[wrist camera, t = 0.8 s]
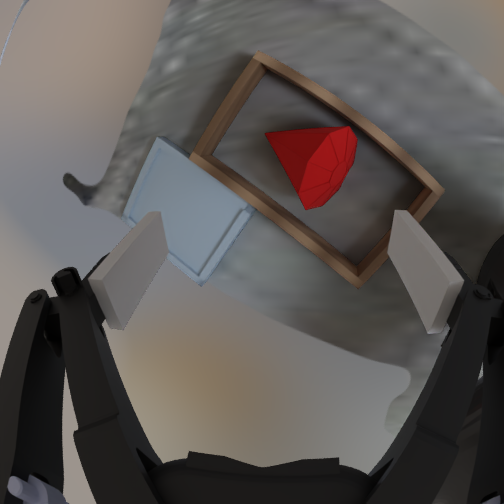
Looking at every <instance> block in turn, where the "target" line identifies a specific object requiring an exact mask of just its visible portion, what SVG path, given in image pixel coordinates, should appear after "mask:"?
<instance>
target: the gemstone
mask: <svg viewBox="0 0 504 504" xmlns="http://www.w3.org/2000/svg"><path fill="white" fill-rule="evenodd" d="M349 128H350V127H349V126H342V127H324V128H310V129H298V130H288V131H278V132H270V133H265V135H266V137H267V139H268V140H269V142H270V144H271V146H272V148H273V149H274V151H275V153H276V155H277V157H278V158H279V160H280V162H281V164H282V166H283V168H284V170H285V171H286V173H287V175H288V177H289V179H290V181H291V183H292V185H293V186H294V188H295V190H296V192H297V194H298V196H299V198H300V200H301V202H302V204H303V206H304V208H305V210H308V209H312V208H311V207H313V208H317V207H321V206H320V205H322V206H323V205H324V204H325V203H326V202H327V201H328V200H329V199H330V198H331V197H332V196H333V195H334V194H335V193H336V192H337V191H338V190H339V189H340V188H341V184H342V182H343V180H344V179H345V177H346V175H347V173H348V171H349V169H350V168H351V166H352V165H353V164H354V161H353V159H355V155H354V153H356V149H355V147H357V141H358V139H357V137H356V136H355V134H354V133H353V131H352V130H351V128H350V129H349ZM351 131H352V132H351ZM353 134H354V135H353ZM355 137H356V138H355ZM316 206H317V207H316ZM307 208H308V209H307Z"/></svg>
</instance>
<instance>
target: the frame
mask: <svg viewBox="0 0 504 504" xmlns="http://www.w3.org/2000/svg"><path fill="white" fill-rule="evenodd" d="M268 69H269V70H270V71H272V72H274V73H276V74H278V75H279V76H281V77H283V78H284V79H286V80H288V81H289V82H291V83H293V84H294V85H296V86H298V87H299V88H301V89H303V90H304V91H306V92H307V93H309V94H310V95H312V96H313V97H315V98H316V99H318V100H319V101H321V102H322V103H324V104H325V105H327V106H328V107H330V108H331V109H333V110H334V111H335V112H337V113H338V114H340V115H341V116H342V117H344V118H345V119H346V120H348V121H349V122H350V123H352V124H353V125H354V126H356V127H357V128H358V129H360V130H361V131H362V132H363V133H365V134H366V135H367V136H369V137H370V138H371V139H372V140H373V141H375V142H376V143H377V144H378V145H380V146H381V147H382V148H383V149H384V150H385V151H387V152H388V153H389V154H390V155H391V156H392V157H394V158H395V159H396V160H397V161H398V162H399V163H400V164H401V165H403V166H404V167H405V168H406V169H407V170H408V171H409V172H410V173H411V174H412V175H413V176H414V177H415V178H416V179H417V180H419V181H420V182H421V183H422V184H423V185H424V186H425V187H424V189H423V190H422V191H421V192H420V194H419V195H418V196H417V197H416V199H415V200H414V201H413V202H412V204H411V205H410V206H409V207H408V209H407V211H408V212H409V213H410V215H411V216H412V217H413V218H414V219H415V220H416V221H417V222H418V223H420V221H421V220H422V219H423V218H424V217H425V215H426V214H427V213H428V212H429V210H430V209H431V208H432V207H433V206H434V204H435V203H436V202H437V200H438V199H439V198H440V197H441V195H442V194H443V193H444V192H445V189H444V188H443V187H442V186H441V185H440V184H439V183H438V182H437V181H436V180H435V179H434V178H433V177H432V176H431V175H430V174H429V173H428V172H427V171H426V170H425V169H424V168H423V167H422V166H421V165H420V164H419V163H418V162H417V161H416V160H415V159H413V158H412V157H411V156H410V155H409V154H408V153H407V152H406V151H405V150H404V149H402V148H401V147H400V146H399V145H398V144H397V143H396V142H394V141H393V140H392V139H391V138H390V137H389V136H387V135H386V134H385V133H384V132H383V131H381V130H380V129H379V128H378V127H376V126H375V125H374V124H373V123H371V122H370V121H369V120H368V119H366V118H365V117H364V116H362V115H361V114H360V113H358V112H357V111H356V110H354V109H353V108H352V107H350V106H349V105H347V104H346V103H345V102H343V101H342V100H340V99H339V98H338V97H336V96H335V95H333V94H332V93H330V92H329V91H327V90H326V89H324V88H323V87H321V86H320V85H318V84H316V83H315V82H313V81H312V80H310V79H308V78H307V77H305V76H304V75H302V74H300V73H299V72H297V71H295V70H293V69H292V68H290V67H288V66H286V65H285V64H283V63H281V62H279V61H277V60H276V59H274V58H272V57H270V56H268V55H266V54H264V53H262V52H260V51H257V52H256V54H255V55H254V57H253V58H252V59H251V61H250V62H249V64H248V65H247V66H246V68H245V69H244V71H243V72H242V74H241V75H240V76H239V78H238V79H237V81H236V82H235V84H234V85H233V87H232V88H231V90H230V91H229V93H228V94H227V96H226V97H225V99H224V101H223V102H222V104H221V105H220V107H219V108H218V110H217V112H216V113H215V115H214V116H213V118H212V120H211V121H210V123H209V125H208V126H207V128H206V130H205V131H204V133H203V135H202V136H201V138H200V140H199V141H198V143H197V145H196V147H195V148H194V150H193V152H192V154H191V155H190V157H189V160H190V161H192V162H193V163H195V164H196V165H197V166H199V167H200V168H202V169H203V170H204V171H206V172H207V173H209V174H210V175H211V176H213V177H214V178H215V179H217V180H218V181H220V182H221V183H222V184H224V185H225V186H226V187H228V188H229V189H230V190H232V191H233V192H234V193H236V194H237V195H238V196H240V197H241V198H242V199H244V200H245V201H246V202H248V203H249V204H250V205H252V206H253V207H254V208H256V209H257V210H258V211H260V212H261V213H262V214H264V215H265V216H266V217H268V218H269V219H270V220H272V221H273V222H274V223H275V224H277V225H278V226H279V227H281V228H282V229H283V230H285V231H286V232H287V233H288V234H290V235H291V236H292V237H294V238H295V239H296V240H297V241H299V242H300V243H301V244H302V245H304V246H305V247H306V248H308V249H309V250H310V251H311V252H313V253H314V254H315V255H316V256H318V257H319V258H320V259H321V260H323V261H324V262H325V263H326V264H328V265H329V266H330V267H331V268H333V269H334V270H335V271H336V272H337V273H339V274H340V275H341V276H342V277H344V278H345V279H346V280H347V281H349V282H350V283H351V284H352V285H353V286H355V287H356V288H357V289H359V288H360V287H361V286H362V285H363V284H364V283H365V282H366V281H367V280H368V279H369V278H370V277H371V276H372V275H373V274H374V273H375V272H376V271H377V270H378V269H379V267H380V266H381V265H382V264H383V263H384V262H385V261H386V260H387V259H388V258H389V255H388V253H387V251H388V246H389V241H390V235H391V230H392V228H391V229H390V230H389V231H388V232H387V233H386V234H385V236H384V237H383V238H382V239H381V240H380V241H379V242H378V244H377V245H376V246H375V247H374V248H373V249H372V250H371V251H370V252H369V254H368V255H367V256H366V257H365V258H364V259H363V260H362V261H361V262H360V263H359V264H358V266H356V265H355V264H354V263H352V262H351V261H350V260H349V259H348V258H346V257H345V256H344V255H343V254H341V253H340V252H339V251H338V250H337V249H335V248H334V247H333V246H332V245H330V244H329V243H328V242H327V241H326V240H324V239H323V238H322V237H321V236H319V235H318V234H317V233H316V232H314V231H313V230H312V229H310V228H309V227H308V226H307V225H305V224H304V223H303V222H302V221H300V220H299V219H298V218H296V217H295V216H294V215H293V214H291V213H290V212H289V211H287V210H286V209H285V208H283V207H282V206H281V205H280V204H278V203H277V202H276V201H274V200H273V199H272V198H270V197H269V196H268V195H266V194H265V193H264V192H262V191H261V190H260V189H258V188H257V187H255V186H254V185H253V184H251V183H250V182H249V181H247V180H246V179H245V178H243V177H242V176H240V175H239V174H238V173H236V172H235V171H233V170H232V169H231V168H229V167H228V166H226V165H225V164H224V163H222V162H221V161H219V160H218V159H217V158H215V157H214V156H212V153H213V152H214V150H215V148H216V147H217V145H218V144H219V142H220V140H221V139H222V137H223V136H224V134H225V132H226V131H227V129H228V128H229V126H230V124H231V123H232V121H233V120H234V118H235V117H236V115H237V114H238V112H239V111H240V109H241V108H242V106H243V105H244V103H245V102H246V100H247V99H248V97H249V96H250V94H251V93H252V91H253V90H254V88H255V87H256V86H257V84H258V83H259V81H260V80H261V78H262V77H263V76H264V74H265V73H266V71H267V70H268Z"/></svg>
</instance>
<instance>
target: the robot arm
mask: <svg viewBox="0 0 504 504" xmlns="http://www.w3.org/2000/svg"><path fill="white" fill-rule="evenodd" d="M387 253H388V255H389V257H390V259H391V261H392V262H393V264H394V266H395V268H396V270H397V272H398V273H399V275H400V277H401V279H402V281H403V283H404V285H405V287H406V289H407V291H408V293H409V295H410V297H411V299H412V301H413V303H414V305H415V307H416V309H417V311H418V313H419V316H420V318H421V320H422V322H423V324H424V327H425V329H426V331H427V333H428V334H432V333H440V332H442V331H443V329H444V327H445V325H446V322H447V323H448V325H449V327H450V329H449V331H448V333H447V335H446V337H445V339H444V341H443V343H442V345H441V346H442V349H441V351H440V353H439V356H438V358H437V360H436V363H435V365H434V367H433V369H432V372H431V374H430V376H429V378H428V380H427V382H426V384H425V386H424V388H423V390H422V392H421V394H420V396H419V398H418V400H417V402H416V404H415V406H414V408H413V409H412V411H411V413H410V415H409V416H408V418H407V420H406V422H405V423H404V425H403V427H402V428H401V430H400V432H399V433H398V435H397V436H396V438H395V440H394V441H393V443H392V444H391V446H390V448H389V449H388V450H387V452H386V453H385V455H384V456H383V457H382V459H381V460H380V461H379V462H378V463H377V465H376V466H375V467H374V468H373V469H372V471H371V472H370V473H369V474H368V475H367V474H366V473H364V472H362V471H360V470H357V469H354V468H352V467H348V466H344V465H339V458H324V459H303V460H298V461H294V462H290V463H285V464H280V465H275V466H270V467H257V466H254V465H250V464H247V463H244V462H241V461H238V460H234V459H231V458H228V457H225V456H219V455H212V454H204V453H198V452H192V451H189V453H188V457H187V458H186V459H179V460H174V461H170V462H166V463H164V464H163V463H162V461H161V460H160V458H159V457H158V456H157V454H156V453H155V451H154V450H153V448H152V447H151V445H150V443H149V441H148V439H147V437H146V435H145V433H144V431H143V428H142V427H141V424H140V422H139V420H138V418H137V416H136V413H135V411H134V409H133V407H132V404H131V402H130V400H129V397H128V395H127V392H126V390H125V388H124V385H123V382H122V380H121V377H120V375H119V372H118V369H117V367H116V364H115V361H114V358H113V355H112V352H111V349H110V346H109V343H108V340H107V337H106V334H105V331H104V328H103V326H102V323H103V321H104V320H105V319H106V321H107V323H108V325H109V327H110V328H112V329H118V330H124V328H125V327H126V325H127V323H128V321H129V319H130V318H131V316H132V314H133V312H134V311H135V309H136V307H137V305H138V304H139V302H140V300H141V298H142V297H143V295H144V293H145V292H146V290H147V288H148V287H149V285H150V283H151V282H152V280H153V278H154V277H155V275H156V273H157V272H158V270H159V268H160V267H161V265H162V263H163V262H164V260H165V259H166V257H167V255H168V254H169V250H168V245H167V240H166V236H165V231H164V226H163V221H162V216H161V211H153V212H148V213H147V214H146V215H145V216H144V217H143V218H142V219H141V220H140V221H139V222H138V223H137V224H136V225H135V226H134V228H133V229H132V230H131V231H130V232H129V233H128V234H127V235H126V236H125V237H124V238H123V239H122V241H121V242H120V243H119V244H118V245H117V246H116V247H115V248H114V249H113V250H112V252H111V253H108V254H107V255H105V256H104V257H102V258H101V259H100V260H99V262H98V263H97V265H95V266H94V267H93V269H92V270H91V271H90V272H89V273H88V274H87V275H86V277H85V278H84V279H83V280H82V281H81V278H80V276H79V274H78V271H77V269H76V268H74V267H68V268H64V269H62V270H60V271H58V272H57V273H56V274H55V275H54V276H53V277H52V280H51V282H52V284H53V286H54V288H55V290H56V293H57V295H58V296H57V297H51V298H49V296H48V294H47V292H46V291H45V290H43V289H40V290H37V291H33V292H32V293H31V294H30V295H29V296H28V297H27V299H26V300H25V302H24V305H23V307H22V310H21V313H20V315H19V318H18V321H17V323H16V326H15V329H14V332H13V335H12V338H11V341H10V345H9V348H8V351H7V354H6V358H5V362H4V365H3V369H2V373H1V377H0V504H69V503H67V502H66V500H65V498H64V496H63V485H64V468H63V448H62V410H63V408H62V407H63V390H64V377H65V367H66V373H67V378H68V383H69V389H70V393H71V398H72V402H73V407H74V411H75V415H76V419H77V423H78V430H76V431H74V434H73V437H74V442H75V445H76V449H77V452H78V455H79V458H80V461H81V464H82V467H83V470H84V473H85V476H86V479H87V481H88V484H89V486H90V489H91V491H92V494H93V496H94V499H95V501H96V503H97V504H504V235H503V236H502V237H501V238H500V239H499V240H498V241H497V242H496V243H495V245H494V246H493V247H492V249H491V250H490V252H489V254H488V255H487V257H486V259H485V261H484V264H483V266H482V268H481V271H480V274H479V278H478V282H477V284H473V283H472V282H471V280H470V279H469V278H468V276H467V275H466V274H465V272H464V271H463V270H462V268H461V267H460V266H459V265H458V263H457V262H456V261H455V259H454V258H453V257H452V256H450V255H449V254H447V253H446V252H442V251H441V249H440V248H439V247H438V246H437V245H436V243H435V242H434V241H433V240H432V239H431V237H430V236H429V235H428V234H427V233H426V232H425V230H424V229H423V228H422V227H421V226H420V225H419V223H418V222H417V221H416V220H415V219H414V218H413V217H412V216H411V215H410V213H409V212H408V211H407V210H395V212H394V218H393V224H392V230H391V235H390V241H389V246H388V251H387ZM482 362H483V376H482V377H481V378H480V379H478V377H479V373H480V370H481V366H482Z"/></svg>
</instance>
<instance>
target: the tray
mask: <svg viewBox="0 0 504 504" xmlns="http://www.w3.org/2000/svg"><path fill="white" fill-rule="evenodd" d="M189 157H190V154H188V153H187V152H185V151H184V150H183V149H181V148H180V147H178V146H177V145H175V144H174V143H173V142H171V141H170V140H168V139H167V138H165V137H157V138H156V140H155V142H154V144H153V146H152V148H151V150H150V152H149V154H148V156H147V158H146V161H145V163H144V165H143V167H142V169H141V172H140V174H139V176H138V178H137V181H136V183H135V185H134V188H133V190H132V192H131V195H130V197H129V200H128V202H127V205H126V207H125V210H124V212H123V215H122V217H121V219H122V220H123V221H124V222H125V223H126V224H127V225H128V226H130V227H131V228H132V229H133V228H134V226H135V225H136V224H137V223H138V222H139V221H140V220H141V219H142V218H143V217H144V216H145V215H146V214H147V213H148V212H153V211H161V216H162V221H163V226H164V231H165V236H166V240H167V245H168V250H169V254H168V255H167V257H166V258H167V259H168V260H169V261H170V262H172V263H173V264H174V265H175V266H176V267H178V268H179V269H180V270H181V271H183V272H184V273H185V274H186V275H187V276H189V277H190V278H191V279H192V280H194V281H195V282H196V283H198V285H200V286H203V284H204V283H206V282H207V280H208V279H209V277H210V276H211V274H212V273H213V271H214V270H215V268H216V267H217V265H218V264H219V263H220V261H221V260H222V258H223V257H224V255H225V254H226V252H227V251H228V250H229V248H230V247H231V245H232V244H233V242H234V241H235V239H236V238H237V237H238V235H239V234H240V232H241V231H242V229H243V228H244V227H245V225H246V224H247V222H248V221H249V219H250V218H251V217H252V215H253V214H254V212H255V211H256V208H254V207H253V206H252V205H250V204H249V203H248V202H246V201H245V200H244V199H242V198H241V197H240V196H238V195H237V194H236V193H234V192H233V191H232V190H230V189H229V188H228V187H226V186H225V185H224V184H222V183H221V182H220V181H218V180H217V179H215V178H214V177H213V176H211V175H210V174H209V173H207V172H206V171H204V170H203V169H202V168H200V167H199V166H197V165H196V164H195V163H193V162H192V161H190V160H189Z"/></svg>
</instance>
